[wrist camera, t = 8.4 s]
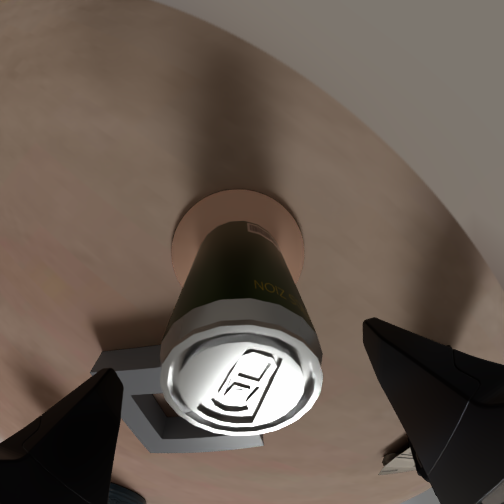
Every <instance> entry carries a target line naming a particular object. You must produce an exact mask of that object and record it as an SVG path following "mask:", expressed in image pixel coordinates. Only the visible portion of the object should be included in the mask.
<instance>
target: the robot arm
mask: <svg viewBox="0 0 504 504" xmlns="http://www.w3.org/2000/svg"><path fill="white" fill-rule="evenodd" d="M363 343H364V347H365V349H366V352H367V354H368V356H369V359H370V361H371V364H372V366H373V369H374V371H375V374H376V376H377V379H378V381H379V383H380V385H381V387H382V388H383V390H384V392H385V394H386V396H387V397H388V399H389V401H390V403H391V405H392V407H393V409H394V410H395V412H396V414H397V416H398V418H399V420H400V422H401V424H402V426H403V427H404V429H405V431H406V433H407V435H408V440H409V445H410V449H411V452H412V456H413V460H414V463H415V467H416V471H417V473H418V475H419V476H422V477H423V478H424V479H425V480H426V481H427V482H429V483H430V484H431V486H432V488H433V490H434V492H435V495H436V496H437V497H438V499H439V502H440V504H504V365H502V364H498V363H494V362H491V361H487V360H484V359H480V358H477V357H474V356H471V355H468V354H466V353H463V352H460V351H458V350H455V349H452V348H451V346H450V345H447V346H445V345H442V344H440V343H437V342H435V341H432V340H430V339H427V338H425V337H422V336H420V335H417V334H415V333H412V332H410V331H407V330H405V329H402V328H400V327H397V326H395V325H392V324H390V323H388V322H385V321H383V320H380V319H378V318H375V317H373V318H370V319H367V320H364V322H363ZM123 391H124V387H123V383H122V382H121V380H120V378H119V377H118V375H117V373H116V372H115V370H114V369H113V368H102V369H101V370H100V371H98V372H97V373H96V374H94V375H93V376H92V377H90V378H89V379H88V380H87V381H85V382H84V383H83V384H81V385H80V386H79V387H77V388H76V389H75V390H73V391H72V392H71V393H70V394H68V395H67V396H66V397H64V398H63V399H62V400H60V401H59V402H58V403H56V404H55V405H54V406H53V407H51V408H50V409H49V410H47V411H46V412H45V413H43V414H42V416H39V417H38V418H37V419H35V420H34V421H33V422H31V423H30V424H29V425H27V426H26V427H24V428H23V429H21V430H20V431H18V432H17V433H15V434H14V435H12V436H11V437H9V438H8V439H6V440H5V441H3V442H1V443H0V504H108V497H109V489H110V481H111V474H112V467H113V461H114V454H115V449H116V443H117V437H118V432H119V427H120V420H121V410H122V400H123Z"/></svg>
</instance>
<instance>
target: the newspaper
mask: <svg viewBox="0 0 504 504" xmlns="http://www.w3.org/2000/svg"><path fill="white" fill-rule="evenodd" d="M382 463H383V466H384V467H383V469H382V470H381V471H380V473H379V475H385V474H394V473H401V472H407V471H413V470H416V467H415V463H414V460H413V456H412V452H411V449H410V448H409V449H407V450H406V451H404V452H403V453H391V454H388V455H387V456H384V459H383V461H382Z"/></svg>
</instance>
